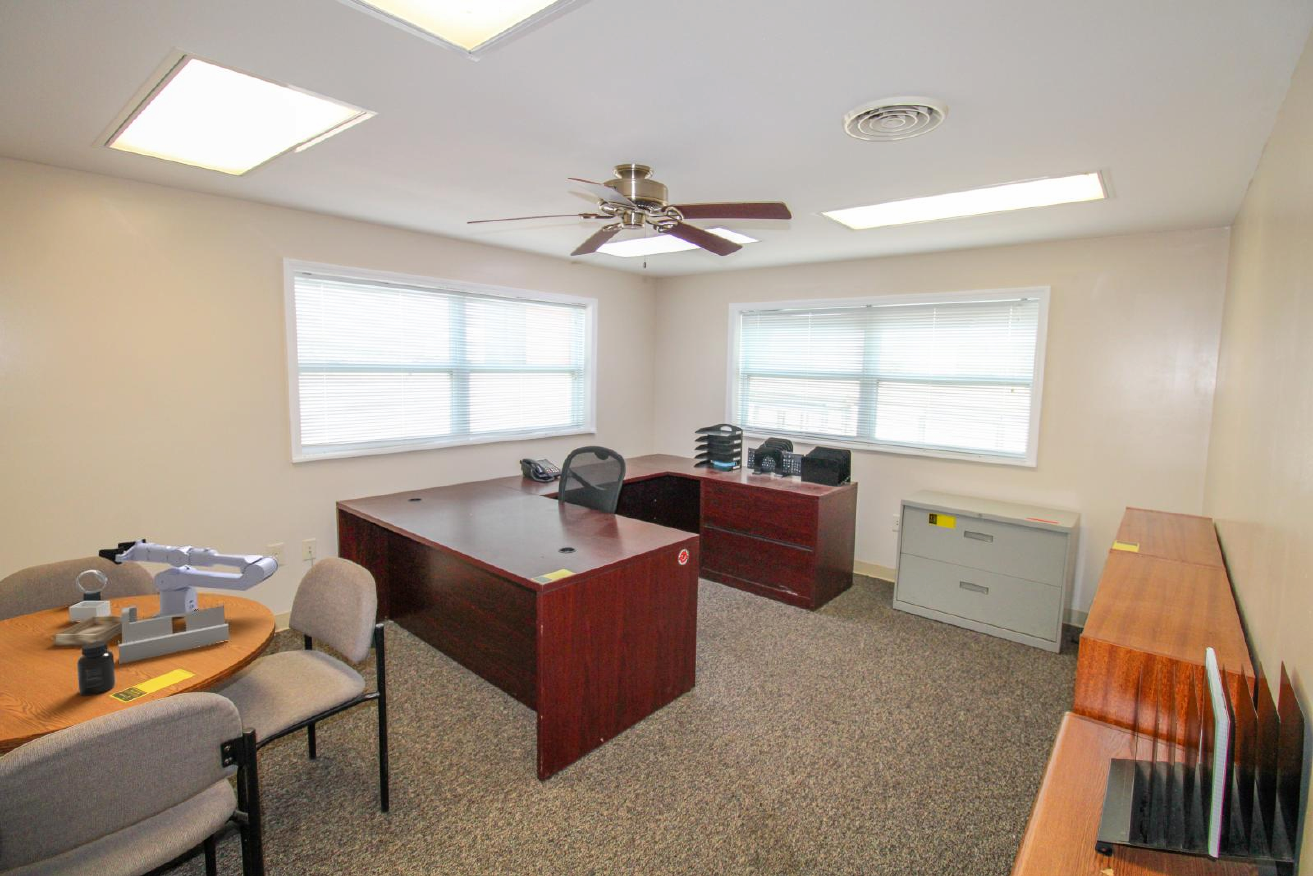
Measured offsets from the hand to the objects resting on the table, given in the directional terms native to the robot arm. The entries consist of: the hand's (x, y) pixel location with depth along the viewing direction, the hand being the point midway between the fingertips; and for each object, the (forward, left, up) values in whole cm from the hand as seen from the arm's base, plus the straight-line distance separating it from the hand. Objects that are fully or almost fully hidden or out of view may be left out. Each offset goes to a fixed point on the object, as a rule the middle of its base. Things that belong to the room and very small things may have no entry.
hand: (109, 549), depth 196 cm
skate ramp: (-32, +19, -22) cm, 43 cm away
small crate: (+3, +5, -22) cm, 22 cm away
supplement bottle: (-33, +49, -22) cm, 63 cm away
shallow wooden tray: (-8, +17, -22) cm, 29 cm away
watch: (+14, -10, -22) cm, 28 cm away
